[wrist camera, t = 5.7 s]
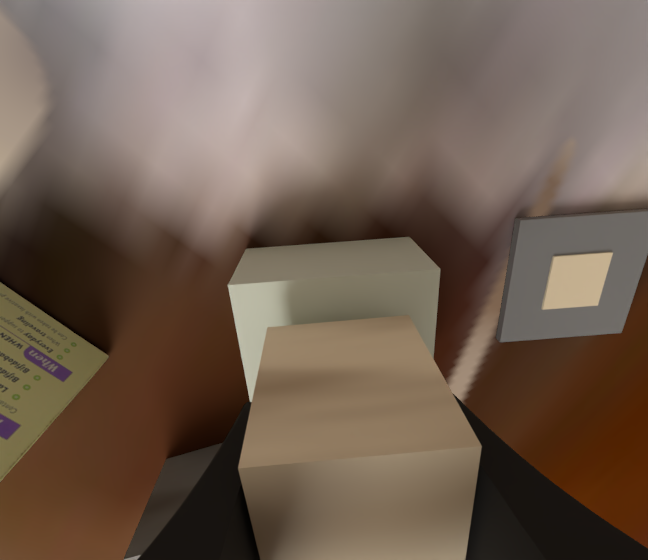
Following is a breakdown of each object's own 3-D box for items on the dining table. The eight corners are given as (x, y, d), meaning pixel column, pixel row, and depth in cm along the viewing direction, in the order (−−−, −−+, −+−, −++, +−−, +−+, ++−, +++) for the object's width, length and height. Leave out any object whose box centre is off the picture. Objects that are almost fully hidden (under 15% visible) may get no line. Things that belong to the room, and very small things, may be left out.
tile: (614, 328, 17) (623, 333, 17) (495, 337, 17) (501, 343, 17) (653, 208, 15) (664, 210, 14) (515, 218, 15) (522, 220, 14)
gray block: (271, 488, 21) (261, 589, 16) (202, 507, 21) (174, 611, 17) (241, 436, 19) (220, 533, 14) (166, 458, 19) (123, 559, 15)
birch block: (406, 422, 13) (461, 585, 8) (284, 433, 13) (271, 603, 8) (408, 315, 11) (481, 445, 6) (267, 327, 11) (237, 468, 6)
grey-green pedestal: (402, 366, 18) (427, 427, 14) (267, 376, 18) (257, 441, 14) (407, 235, 15) (440, 269, 11) (247, 247, 15) (227, 285, 11)
